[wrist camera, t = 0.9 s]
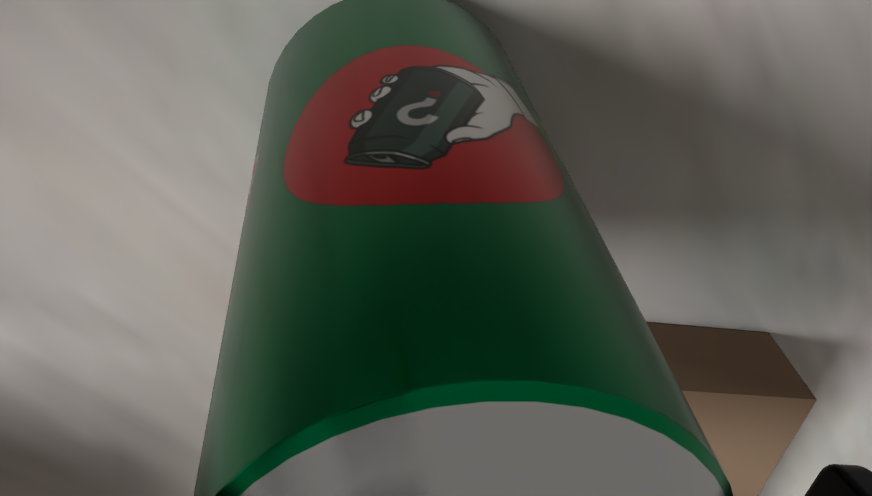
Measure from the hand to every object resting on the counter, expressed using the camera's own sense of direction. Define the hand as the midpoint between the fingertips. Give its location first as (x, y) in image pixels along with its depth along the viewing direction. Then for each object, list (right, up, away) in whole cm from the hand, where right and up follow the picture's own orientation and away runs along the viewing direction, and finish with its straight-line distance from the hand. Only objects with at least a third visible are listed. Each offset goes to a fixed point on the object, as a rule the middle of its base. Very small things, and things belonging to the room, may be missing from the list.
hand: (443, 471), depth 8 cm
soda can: (-1, +5, +8) cm, 10 cm away
